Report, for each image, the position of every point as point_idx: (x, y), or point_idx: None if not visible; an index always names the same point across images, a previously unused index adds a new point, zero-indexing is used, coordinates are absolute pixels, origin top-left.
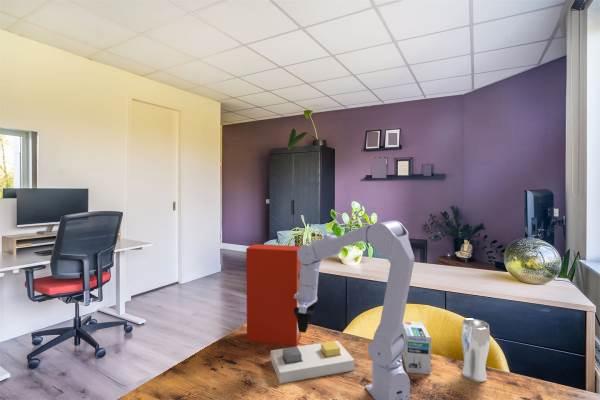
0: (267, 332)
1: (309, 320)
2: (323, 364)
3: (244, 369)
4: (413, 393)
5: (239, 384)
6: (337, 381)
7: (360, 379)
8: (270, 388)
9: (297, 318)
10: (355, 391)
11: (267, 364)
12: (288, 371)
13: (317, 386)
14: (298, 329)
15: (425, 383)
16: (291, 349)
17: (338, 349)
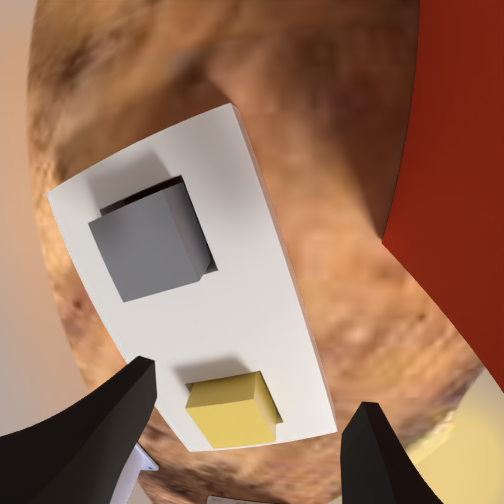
0: (441, 71)
1: (342, 433)
2: None
3: (156, 15)
4: None
5: (67, 41)
6: None
7: (154, 426)
8: (50, 156)
9: (38, 430)
10: None
11: (198, 100)
12: (59, 229)
13: (88, 316)
14: (128, 363)
15: (175, 498)
16: (161, 247)
17: (210, 441)
